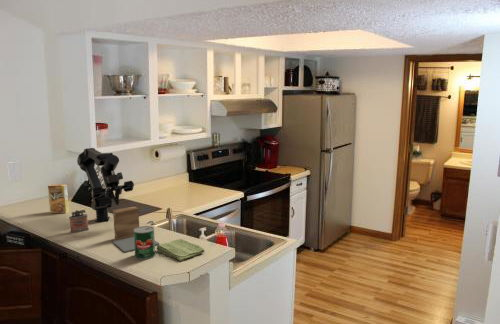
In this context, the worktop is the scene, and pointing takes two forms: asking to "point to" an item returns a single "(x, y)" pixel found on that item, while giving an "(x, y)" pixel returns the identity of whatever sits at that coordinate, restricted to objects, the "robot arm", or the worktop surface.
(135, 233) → the canned tomato
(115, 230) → the walnut slab
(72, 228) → the red patterned tin
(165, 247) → the washcloth
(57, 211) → the candy box
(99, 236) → the worktop surface
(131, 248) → the mat
